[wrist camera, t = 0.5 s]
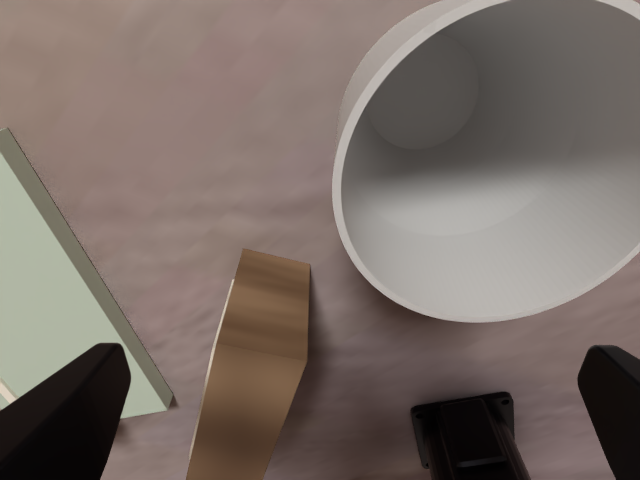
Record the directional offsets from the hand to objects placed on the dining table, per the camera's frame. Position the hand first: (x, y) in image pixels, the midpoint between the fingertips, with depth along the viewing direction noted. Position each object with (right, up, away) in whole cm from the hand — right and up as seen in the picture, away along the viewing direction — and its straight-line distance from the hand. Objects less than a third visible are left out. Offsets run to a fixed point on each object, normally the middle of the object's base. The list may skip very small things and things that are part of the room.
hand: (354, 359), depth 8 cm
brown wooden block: (-4, -3, +17) cm, 18 cm away
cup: (+4, +9, +10) cm, 14 cm away
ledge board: (-17, -1, +16) cm, 23 cm away
